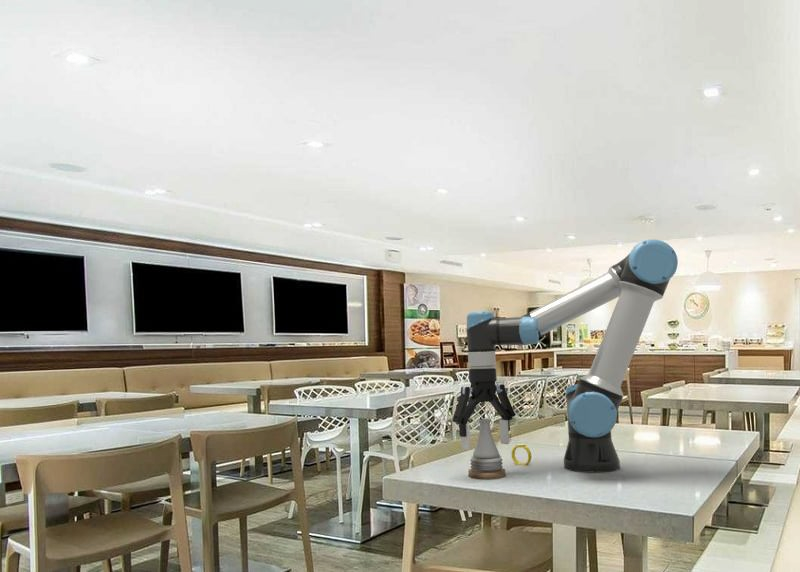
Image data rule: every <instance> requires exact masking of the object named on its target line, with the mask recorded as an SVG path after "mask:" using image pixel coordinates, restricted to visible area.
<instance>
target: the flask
mask: <svg viewBox="0 0 800 572" xmlns="http://www.w3.org/2000/svg"><path fill="white" fill-rule="evenodd" d="M478 423H479V433H478V436H477V441H476V444H475V446H474V449H473V453H472V456H474V457H477V458H495V457H500V456H501V455H500V453H499V449H498V447H497V445H496V443H495V439H494V437H493V435H492V430H491V424H490V423H491V419H489V418H480V419H478Z"/></svg>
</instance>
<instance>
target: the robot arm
mask: <svg viewBox="0 0 800 572" xmlns="http://www.w3.org/2000/svg"><path fill="white" fill-rule="evenodd" d="M677 268H678V256H677V252H675V250H674V248H673V247H672V246H671V245H670V244H668V243H667V242H665V241H664V240H660V239H646V240H642V241H641V242H638V243H637V244H636V245H634V246H633V248H632V249H631V251H630V252H629V253H628V254H627V255H626V256H625V257H624V258H623V259H621V260H620V261H619V262H617V263H616V264H614V265H612V266H609V268H608V271H606V273H604V274H602V275H600V276H598V277H596V278H594V279H592V280H590V281H588V282H586V283H584V284H583V285H581V286H578V287H577V288H575V289H573V290H571V291H568V292H567V293H565V294H563V295H561V296H559V297H556V298H555V299H553V300H551V301H549V302H547V303H545V304H544V305H541V306H539V307H538V308H535V309H533V310H532V311H530V312H528V313H525V314H524V315H522V316H517V317H516V316H514V317H495V315H494V312H493V311H489V310H488V311H487V310H486V311H483V310H482V311H471V312H468V314H467V316H466V328H465V329H466V339H467V340H466V341H467V343H466V344H467V359H468V360H467V362H468V367H469V370H468V381H469V383H470V386H461V387H460V395H459V397H458V402H457V404H456V407H455V411H454V413H453V417H452V422H453V423H456V424H457V425H458V428H459V429H458V430H459V437H461V449H463V450H466V451H467V450H468V451H469V450H471V432H470V431H471V430H470V429H471V427H470V424H469V423H468V422H469V420H470V419H471V417H472V416H473V413H474V412H475V410H476V408H477V406H478V405H479V404H480V403H487V402H488V403H490V404H491V406H492V407H493V408H494V410H495V411H496V412H497V414H498V415H499V416H500V418H501V419H499V437H500V438H499V439H500V440H499V441H500V444H502V445H510V434H509V432H510V431H511V426H510V425H511V423H510V421H512V420H513V417H516V412H515V410H514V408H513V406H512V404H511V401H510V399H509V396H508V394H507V391H506V385H505V383H504V384H503V383H497V384H496V382H497V369H496V366H497V361H496V360H497V357H496V346H520V347H521V346H524V345H525V346H527V345H536V344H538V343H539V340H540V338H539V337H541V336H543V335H545V334H547V333H550V332H551V331H553V330H555V329H557V328H559V327H561V326H563V325H565V324H567V323H569V322H572V321H573V320H575V319H577V318H579V317H581V316H584V315H586V314H587V313H589V312H592V311H593V310H595V309H597V308H600V307H601V306H603V305H605V304H607V303H609V302H611V301H613V300H615V299H617V298H618V299H617V302H616V303H615V307H614V308H613V311H612V313H611V315H610V316H611V317H610V318H609V322H608V323H607V325H606V326H607V327H606V329H605V332H604V334H603V337H602V338H601V342H600V344H599V346H598V349H597V351H596V354H595V357H594V359H593V361H592V364H591V366H590V369H589V371H588V373H587V374H586V375H584V376H582V377H580V378H579V381H578V383H577V384H570V385H568V386H567V387H566V389H565V390H566V391H565V399H566V414H567V415H566V416H567V430H568V431H567V433H568V434H567V435H568V442H567V445H566V450H565V453H564V456H563V457H564V458H563V468H564V469H567V470H571V471H575V472H582V473H584V472H586V473H604V472H605V473H606V472H615V471H618V470H619V469H620V468H621V464H620V463H621V462H620V459H619V456H618V453H617V450H616V448H615V445H614V442H613V440H612V430H613V428H614V427H615V425H616V423H617V417H618V412H619V408H620V406H621V404H622V400H623V398H624V393H623V390H622V387H621V386H622V384H623V381H624V379H625V377H626V373H627V371H628V368H629V366H630V364H631V361H632V358H633V356H634V354H635V351H636V348H637V346H638V343H639V341H640V338H641V335H642V333H643V331H644V328H645V326H646V323H647V321H648V318H649V315H650V313H651V310H652V308H653V305H654V303H655V302H656V301H659V300H662V299H663V298H664V294H665V293H666V290H667V288H668V285H669V282H670V280H671V278H673V277H674V275H675V274H676V271H677V270H678V269H677Z"/></svg>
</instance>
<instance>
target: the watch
mask: <svg viewBox="0 0 800 572" xmlns="http://www.w3.org/2000/svg"><path fill="white" fill-rule="evenodd" d="M518 448H523V449H524V450H525V451H526V452H527V460H526V462H523V463H522V462H519V461H518V460H517V458H516V450H517V449H518ZM511 459H512V461H513V463H514V464H515V465H517V464H518V465H519V466H521V465H522V466H528V465H529V464H530V463H531V461H532V453H531V451H530V448H529V447H528V446H527V445H526V444H525V443H517V444H516V445H515V446H514V447H513V448H512V451H511ZM518 465H517V466H518Z"/></svg>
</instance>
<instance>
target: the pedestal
mask: <svg viewBox="0 0 800 572" xmlns="http://www.w3.org/2000/svg"><path fill="white" fill-rule="evenodd" d="M469 460H470V468H469V469H468V472H467V476H468V477H469V478H471V479H474V480H498V479H503V478H505V477H507V476H506V475H507V473H506V471H507V470H506V469H505V468H504V466H503V458H502V456H501V455H500V457H495V458H477V457H474V456H473V455H472V456H471V458H470V459H469Z"/></svg>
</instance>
